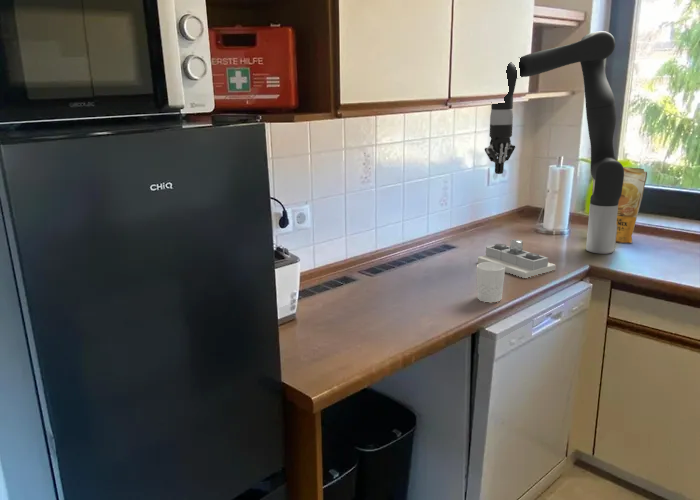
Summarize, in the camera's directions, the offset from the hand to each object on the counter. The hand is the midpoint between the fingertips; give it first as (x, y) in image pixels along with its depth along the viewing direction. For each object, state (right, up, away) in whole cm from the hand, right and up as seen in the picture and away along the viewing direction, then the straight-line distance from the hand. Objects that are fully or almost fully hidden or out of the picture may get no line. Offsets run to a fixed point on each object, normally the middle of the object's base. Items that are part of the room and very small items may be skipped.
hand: (498, 173), depth 200 cm
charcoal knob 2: (+7, -32, -14) cm, 35 cm away
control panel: (+4, -32, -7) cm, 33 cm away
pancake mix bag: (+49, -23, +22) cm, 59 cm away
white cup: (-12, -41, -35) cm, 55 cm away
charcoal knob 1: (0, -28, -2) cm, 29 cm away
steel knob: (+3, -27, -9) cm, 29 cm away
